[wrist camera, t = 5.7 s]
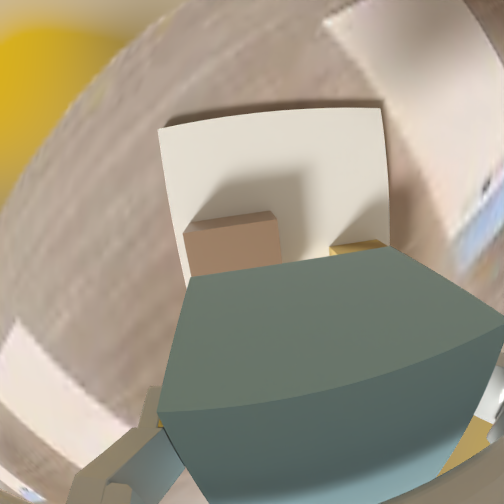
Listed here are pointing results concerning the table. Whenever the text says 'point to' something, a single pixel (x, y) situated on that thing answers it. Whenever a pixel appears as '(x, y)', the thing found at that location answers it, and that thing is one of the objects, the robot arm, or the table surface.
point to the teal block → (325, 378)
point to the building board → (275, 186)
